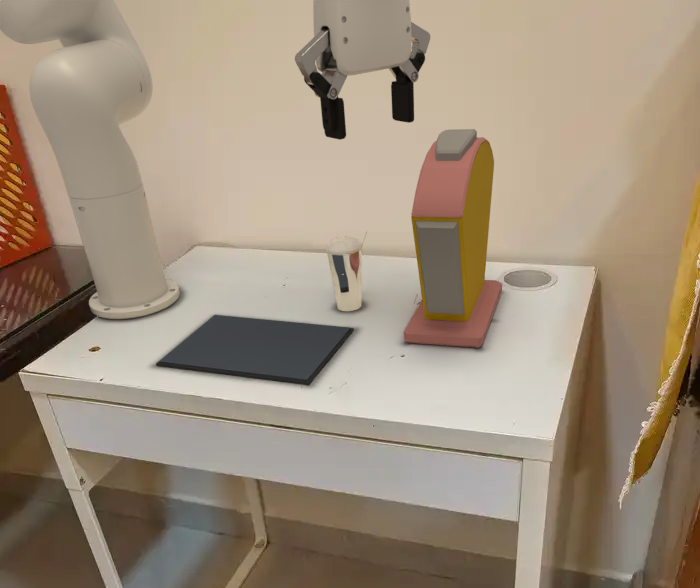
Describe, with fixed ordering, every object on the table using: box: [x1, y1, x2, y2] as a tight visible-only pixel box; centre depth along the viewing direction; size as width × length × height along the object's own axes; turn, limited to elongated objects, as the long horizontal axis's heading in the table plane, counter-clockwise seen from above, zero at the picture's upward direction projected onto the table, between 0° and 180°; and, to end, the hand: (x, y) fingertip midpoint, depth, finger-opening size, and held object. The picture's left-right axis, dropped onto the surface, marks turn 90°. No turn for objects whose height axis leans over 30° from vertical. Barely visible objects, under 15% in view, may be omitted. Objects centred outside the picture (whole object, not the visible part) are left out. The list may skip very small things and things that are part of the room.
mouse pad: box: [155, 314, 355, 386], centre depth 88 cm, size 20×14×1 cm
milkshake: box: [325, 231, 368, 312], centre depth 93 cm, size 4×5×10 cm
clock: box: [403, 128, 503, 349], centre depth 84 cm, size 22×9×22 cm, turn 162°
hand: (370, 129), depth 81 cm, fingers open, 9 cm apart
